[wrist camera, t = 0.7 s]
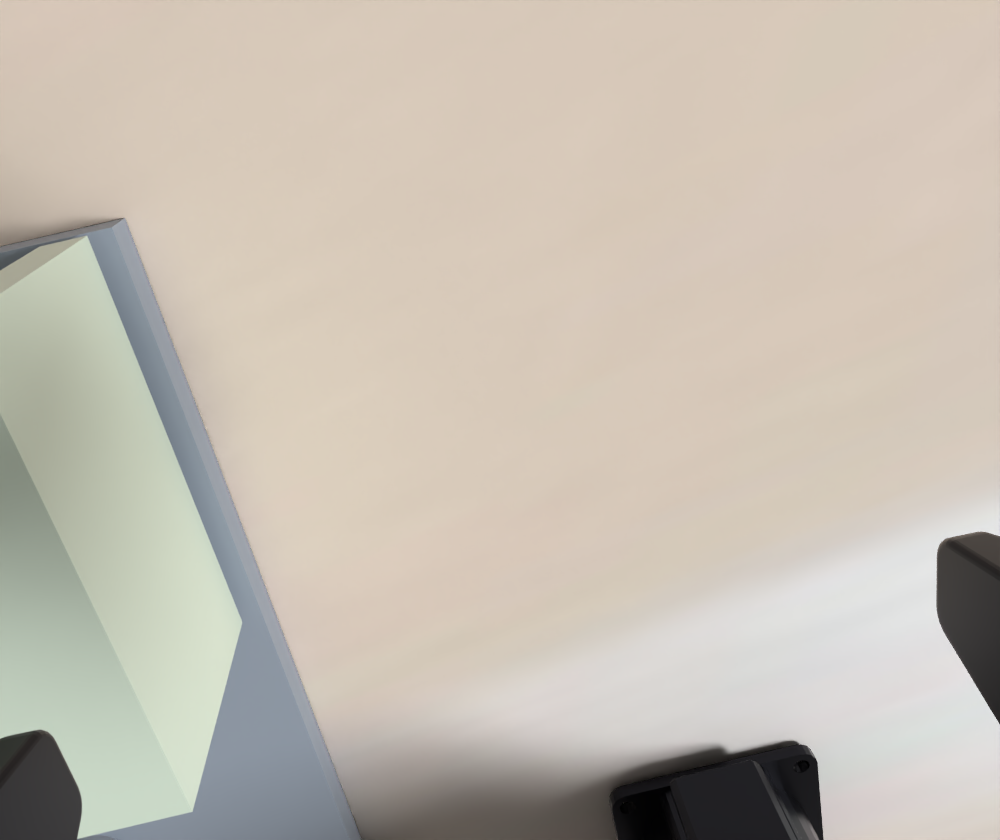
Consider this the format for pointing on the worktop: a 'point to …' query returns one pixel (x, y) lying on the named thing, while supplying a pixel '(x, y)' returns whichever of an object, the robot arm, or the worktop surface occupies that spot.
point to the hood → (101, 554)
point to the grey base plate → (261, 643)
